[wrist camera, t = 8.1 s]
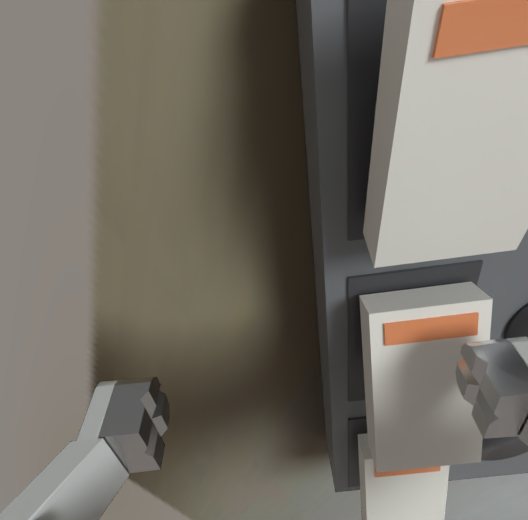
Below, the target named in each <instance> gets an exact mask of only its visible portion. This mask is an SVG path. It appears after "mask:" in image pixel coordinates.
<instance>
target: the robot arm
mask: <svg viewBox="0 0 528 520" xmlns="http://www.w3.org/2000/svg"><path fill="white" fill-rule="evenodd" d="M460 353H461V355H462V357H463V359H462V360H461V361H459V362H458V363H457V367H456V381H457V384H458V387H459V390H460V392H461V394H462V397H463V399H465V400H466V401H468V402H469V403H470V404H472V405H473V410H472V413H471V415H472V417H473V419H474V421H475V423H476V425H477V427H478V429H479V431H480V433H481V435H482V437H483V438H484V439H486V438H501V437H515V436H519V439H520V440H521V441H522V442H524V443H525V444H526V445H527V446H528V338H527V337H515V338H507V339H503V338H502V339H494V340H486V341H477V342H469V343H465V344H464V345H463V346H462V348H461V351H460ZM160 385H161V384H160V382H159V380H158V378H157V377H150V378H138V379H126V380H114V381H105V382H100V383H99V384H98V385H97V387H96V388H95V391H94V393H93V396H92V399H91V402H90V404H89V407H88V410H87V413H86V415H85V418H84V421H83V424H82V427H81V429H80V432H79V435H78V438H77V440H76V441H71V442H70V443H69V444H68V445H67V446H66V447H65V448H64V449H63V450H62V451H61V452H60V453H59V454H58V455H57V456H56V457H55V458H54V459H53V460H52V461H51V462H50V463H49V464H48V466H46V467H45V468H44V470H42V471H41V473H40V474H39V475H38V476H37V477H36V478H35V479H34V480H33V481H32V482H31V483H30V484H29V485H28V486H27V487H26V488H25V489H24V490H23V491H22V492H21V493H20V494H19V495H18V496H17V497H16V498H15V499H14V500H13V501H12V503H10V504H9V505H8V506H7V507H6V508H5V510H3V512H2V513H1V514H0V520H99V519H100V517H101V516H102V515H103V513H104V512H105V510H106V509H107V507H108V506H109V504H110V503H111V502H112V500H113V499H114V497H115V496H116V494H117V493H118V491H119V490H120V488H121V487H122V486H123V484H124V483H125V481H126V480H127V478H128V477H129V473H137V472H145V471H153V470H161V464H162V459H163V453H164V447H165V444H164V442H163V440H162V438H161V436H162V435H163V434H164V432H165V431H166V430H167V429H168V424H169V403H168V399H167V397H166V395H165V394H164V393H163V392H161V391H159V390H160Z"/></svg>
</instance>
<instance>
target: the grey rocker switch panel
mask: <svg viewBox="0 0 528 520" xmlns="http://www.w3.org/2000/svg"><path fill="white" fill-rule="evenodd" d="M386 4H387V0H296V11H297V26H298V40H299V55H300V69H301V83H302V98H303V112H304V127H305V141H306V156H307V170H308V184H309V199H310V213H311V228H312V242H313V257H314V271H315V285H316V300H317V314H318V329H319V343H320V358H321V372H322V386H323V401H324V415H325V430H326V441H327V447H328V452H329V458H330V464H331V470H332V476H333V482H334V487H335V492H342V491H352V490H360V473H359V453H358V434H365V433H367V418H366V401H365V384H364V367H363V351H362V334H361V317H360V300H359V295H367V294H375V293H383V292H391V291H399V290H407V289H415V288H423V287H431V286H439V285H447V284H455V283H463V282H472V283H474V284H475V285H476V286H477V287H479V288H480V289H481V290H482V291H484V292H485V293H486V294H487V295H488V296H490V297H491V298H492V299H493V303H492V317H491V331H490V340H494V339H502V338H503V339H507V338H515V337H527V338H528V229H527V231H526V233H525V235H524V237H523V238H522V240H521V242H520V244H519V245H518V247H517V249H516V250H511V251H503V252H495V253H488V254H480V255H472V256H464V257H456V258H448V259H440V260H433V261H425V262H417V263H409V264H401V265H393V266H385V267H378V268H374V266H373V263H372V260H371V256H370V253H369V250H368V247H367V244H366V241H365V238H364V235H363V227H364V218H365V208H366V198H367V188H368V179H369V169H370V159H371V150H372V140H373V130H374V121H375V111H376V101H377V91H378V82H379V72H380V62H381V53H382V43H383V33H384V24H385V14H386ZM521 473H528V446H527V445H526V444H525V443H524V442H522V441H521V440H520V439H519V436H515V437H501V438H486V439H484V438H483V441H482V454H481V462H477V463H467V464H458V465H450V467H449V477H448V481H452V480H461V479H471V478H481V477H491V476H501V475H511V474H521Z"/></svg>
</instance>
